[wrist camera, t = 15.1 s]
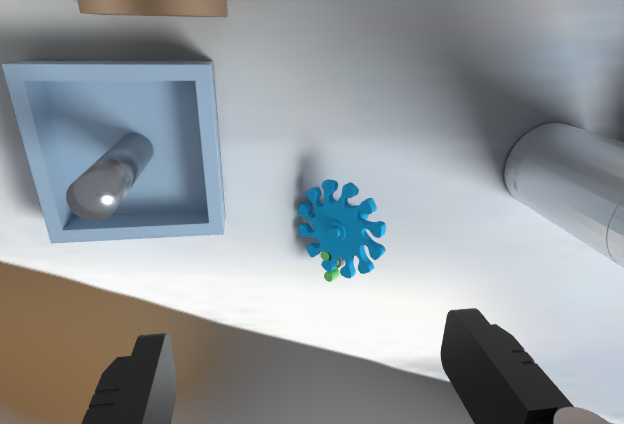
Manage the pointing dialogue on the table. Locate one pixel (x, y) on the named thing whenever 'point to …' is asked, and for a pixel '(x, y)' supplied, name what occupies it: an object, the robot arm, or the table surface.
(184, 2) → the pin block
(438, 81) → the table surface
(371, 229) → the gear
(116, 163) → the peg
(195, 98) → the tray
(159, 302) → the table surface
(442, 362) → the robot arm
